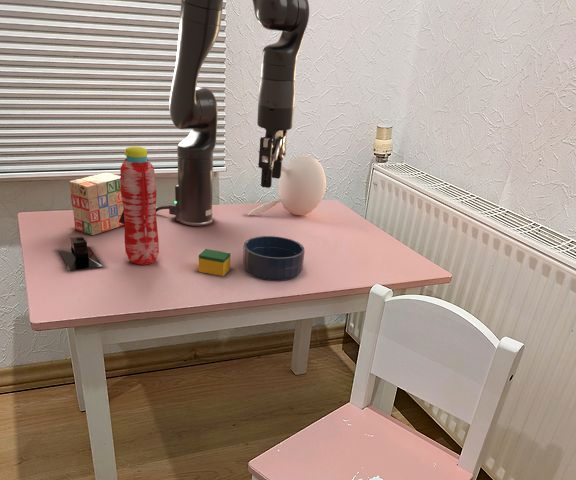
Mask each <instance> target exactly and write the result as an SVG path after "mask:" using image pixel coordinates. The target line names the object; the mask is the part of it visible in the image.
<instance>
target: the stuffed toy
mask: <svg viewBox="0 0 576 480" xmlns="http://www.w3.org/2000/svg"><path fill="white" fill-rule="evenodd" d="M259 151H260V150H257V152H258V153H259ZM265 162H267V163H268V160H265ZM326 188H327V177H326V172H325V170H324V168H323V165H322V164H321V163H320V162H319V161H318V160H317V159H316V158H314V157H312V156H310V155H299V156H296V157H294V158H292V159H291V160H290V161H289V162H288V163H286V165H285V166H284V165H283V163H282V168H281V177H280V178H279V180H278V186H277V193H278V197H279V199H274V200H270V201H268V202H265V203H263V204H262V205H259V206H257V207H255V208H252V210H250V211H249V212H248V213H247V214H246V216H256V215H260V214H262V213H264V212H266V211H268V210H270V209H272V208H273V207H275V206H277V205H278V204H280V203H281V205H282V207H283V208H284V209H285V210H286V211H287V212H288V213H289V214H292V215H295V216H305V215H309V214H310V213H311V212H313V211H314V210H316V209H317V207H318V206H319V205H320V203H321V202H322V200H323V197H324V196H325V193H327V194H329V195H330V194H331V192H332V191H331V190H328V191H326Z"/></svg>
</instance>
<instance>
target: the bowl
mask: <svg viewBox="0 0 576 480" xmlns="http://www.w3.org/2000/svg"><path fill="white" fill-rule="evenodd" d="M242 246H243V247H242V267H243V270H244V271H245V272H246V273H247V274H248V275H250V276H252V277H255V278H257V279H261V280H266V281H273V282H274V281H275V282H277V281H278V282H279V281H280V282H281V281H289V280H293V279H295V278H297V277H299V275H301V274H302V272H303V270H304V262H305V261H304V260H305V250H306V249H305V247H304V245H303V244H301V243H300V242H298V241H296V240H294V239H291V238H287V237H282V236H276V235H275V236H274V235H263V236H262V235H260V236H255V237H250V238H249V239H246V240H244V242H243V245H242Z"/></svg>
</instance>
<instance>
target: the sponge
mask: <svg viewBox="0 0 576 480" xmlns="http://www.w3.org/2000/svg"><path fill="white" fill-rule="evenodd" d="M230 270H231V253H230V252H226V251H219V250H214V249H209V248H205V249H204V250H203V251H202V252H200V253H199V254H198V272H199V273H204V274H209V275H214V276H219V277H225V275H226V274H227V273H228V272H229V271H230Z"/></svg>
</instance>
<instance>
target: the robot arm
mask: <svg viewBox="0 0 576 480" xmlns="http://www.w3.org/2000/svg"><path fill="white" fill-rule="evenodd" d="M252 5H253V13H254V16H255V19H256V21H257V23H259V24H260V25H261V27H262V28H263V29H266V30H268V31H277V32H279V31H280V32H281V33H280V37H279V39H278V41H276V42H274V43H272V44H268V45H266V46H264V47H263V49H262V53H261V70H260V82H259V87H258V99H257V100H258V101H257V102H258V104H257V120H256V121H257V122H256V123H257V126H258V127H259V128H261V129H264V130H265V133H264V136H262V137H261V136H260V139H259V150H258V151H259V152H258V165H257V166H258V168H260V169H261V173H260V174H261V177H260V186H261V187H262V188H266V189H269V188H271V187H272V186H273V185H272V181H273V179H280V177H281V173H282V171H281V168H282V164H283V162H284V157H286V154H287V152H286V151H287V136H288V131H290V130H291V129H293V123H294V122H293V121H294V111H295V100H296V99H295V98H296V73H297V72H296V71H297V60H298V57H299V56H298V55H299V52H300V50H301V47H302V43H303V40H304V36H305V33H306V30H307V27H308V23H309V18H310V4H309V0H252ZM223 6H224V0H180V13H179V28H178V29H179V30H178V39H177V50H176V58H175V59H176V60H175V66H174V67H175V68H174V71H173V77H172V82H171V88H170V93H169V94H170V95H169V115H170V118H171V122H172V123H173V125H174V126H175V128H177V129H179V130H190V132H189V134H188V135H187V136H186V137H185V138H184V139H182V140H181V141H180V142H178V144H177V148H176V152H177V153H176V155H177V184H175V187H174V196H175V200H174V201H173V202H172V203H170V204H169V205H162V206H158V207H156V213H157V212H159V211H161V210H169V211H168V213H169V215H172V216H175V222H179V223H181V224H183V225H186V226H191V227H192V226H193V227H204V226H208V225H210V224H212V223H213V219H214V218H213V196H214V195H213V193H214V191H213V189H214V188H213V187H214V184H213V182H214V180H213V179H214V150H215V148H216V144H217V132H218V120H219V119H218V118H219V116H218V115H219V112H218V102H217V99H216V96H215V94H214V93H213V92H212V90H211V89H209V88H207V87H198V86H197V85H198V79H199V76H200V75H199V74H200V72H201V68H202V66H203V65H204V62H205V60H206V59H207V57H208V56H209V54H210V53H211V50H212V49H213V47H214V45H215V43H216V41H217V40H218V38H219V34H220V31H221V24H222V17H223V8H224V7H223ZM266 160H268V162H267V161H266Z"/></svg>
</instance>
